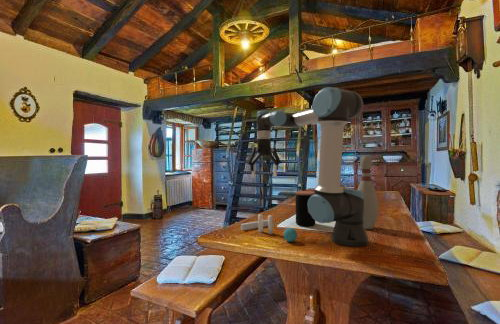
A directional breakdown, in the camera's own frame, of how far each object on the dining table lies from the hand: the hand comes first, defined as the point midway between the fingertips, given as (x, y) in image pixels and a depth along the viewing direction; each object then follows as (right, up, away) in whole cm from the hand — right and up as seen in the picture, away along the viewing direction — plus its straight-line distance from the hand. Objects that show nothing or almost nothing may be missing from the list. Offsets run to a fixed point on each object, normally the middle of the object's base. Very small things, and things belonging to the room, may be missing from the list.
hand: (264, 176), depth 146 cm
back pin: (-3, -27, -15) cm, 31 cm away
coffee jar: (+23, -27, -2) cm, 35 cm away
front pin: (+2, -27, -18) cm, 32 cm away
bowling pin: (+52, -26, -10) cm, 60 cm away
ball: (+10, -24, -30) cm, 40 cm away
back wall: (-5, -27, -6) cm, 28 cm away
